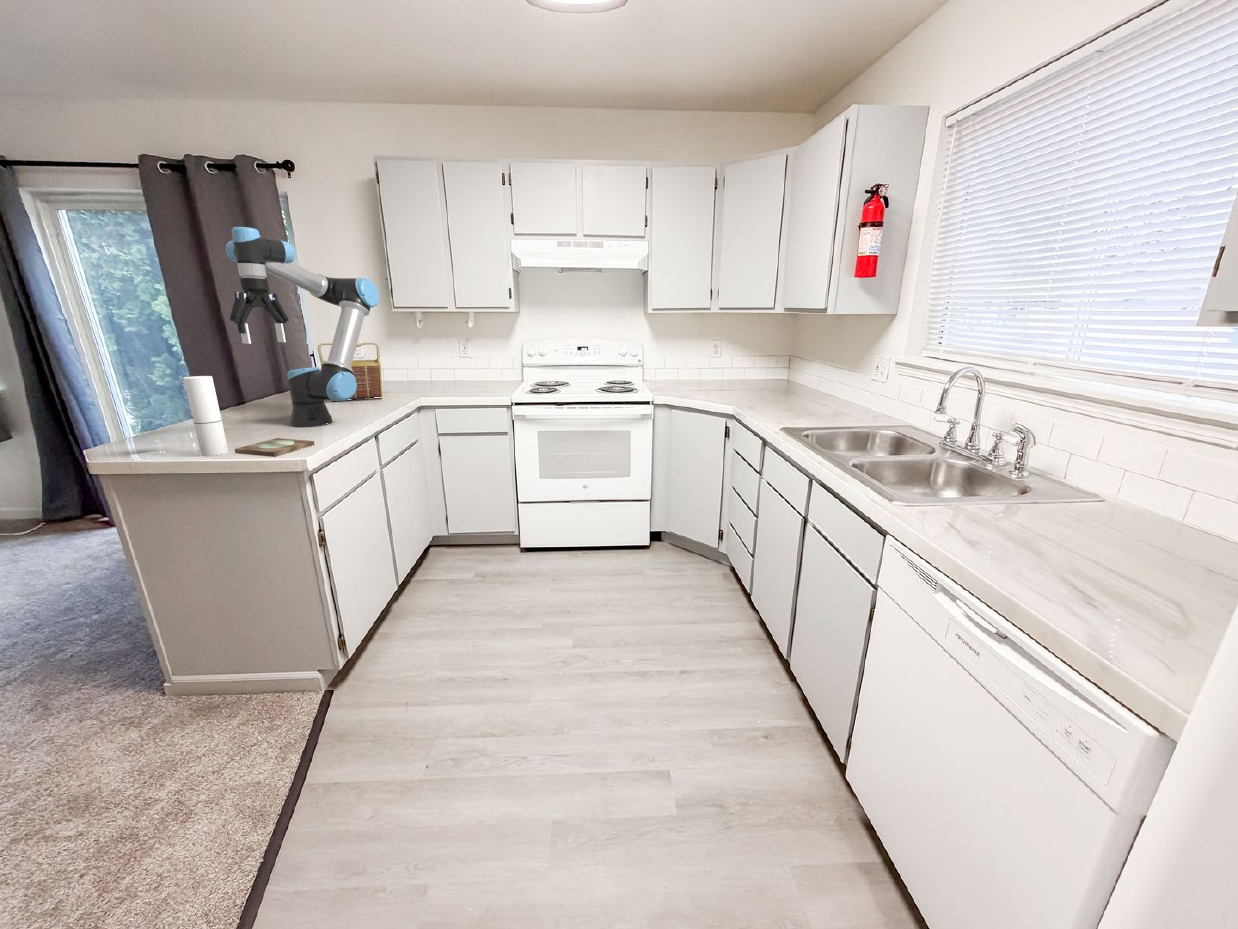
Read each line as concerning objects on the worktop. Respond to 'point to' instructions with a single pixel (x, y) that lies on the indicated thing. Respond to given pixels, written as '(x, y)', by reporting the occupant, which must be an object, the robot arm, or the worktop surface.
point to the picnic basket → (364, 375)
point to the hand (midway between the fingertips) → (265, 342)
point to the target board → (274, 447)
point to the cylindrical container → (206, 415)
